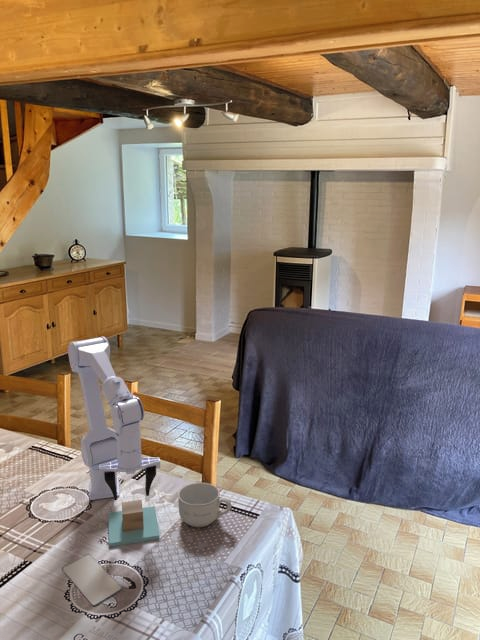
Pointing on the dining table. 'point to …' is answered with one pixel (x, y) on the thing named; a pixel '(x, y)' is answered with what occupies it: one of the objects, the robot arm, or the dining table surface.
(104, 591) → the smartphone
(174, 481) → the dining table surface
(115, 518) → the teal square plate
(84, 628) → the dining table surface
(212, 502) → the teacup
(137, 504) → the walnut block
